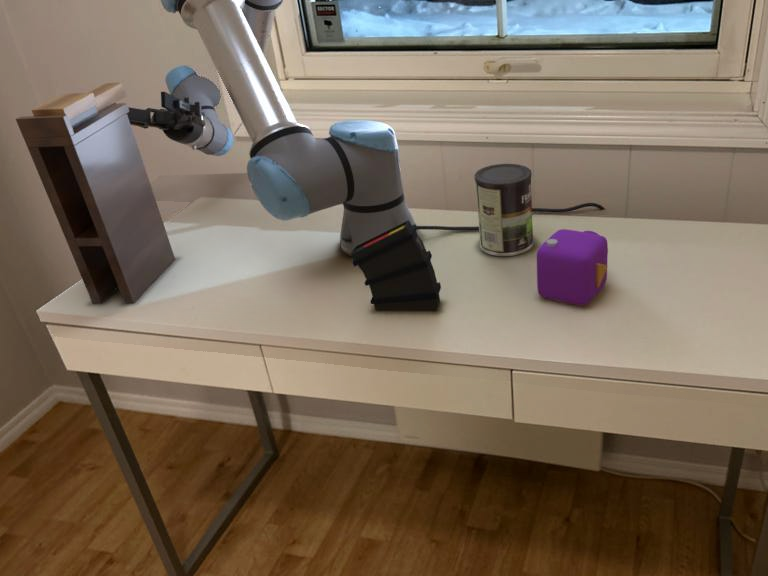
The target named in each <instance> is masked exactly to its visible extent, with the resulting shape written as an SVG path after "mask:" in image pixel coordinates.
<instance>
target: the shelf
mask: <svg viewBox="0 0 768 576" xmlns="http://www.w3.org/2000/svg"><path fill="white" fill-rule="evenodd" d="M128 107H129V106H128V103H127V102H119V103H117V102H116V104H112V105H110V106H109V107H107V108H105V109H103V110H102V111H100V112H98V113H99V115H98V116H96V117H94V118H92V119H91V120H89V121H87V122H86V123H84V124H82V125H80V126H79V127H77V128H75V129H74V130H73V129H72V126H71V123H70V121H69V118H68V115H50V116H34V115H30V116H26V115H25V116H18V117H17V118H15V121H16V124H17V126H18V129H19V131H20V134H21V137H22V138H23V140H24V143H25V145H26V148H27V150H28V152H29V154H30V157H31V160H32V162H33V164H34V167H35V169H36V171H37V174H38V176H39V179H40V181H41V184H42V186H43V188H44V191H45V193H46V195H47V198H48V200H49V202H50V205H51V208H52V210H53V213H54V214H55V217H56V219H57V222H58V224H59V227H60V229H61V232H62V235H63V237H64V238H65V239H64V240H65V241H66V244H67V246H68V247H69V250H70V253H71V256H72V258H73V260H74V262H75V265H76V267H77V269H78V272H79V275H80V277H81V280H82V281H83V284H84V286H85V287H84V288H85V289H86V291H87V294H88V296H89V299H90V301H91V303H92V304H103V303H104V302H105V301H106V300H107V298H109V297H110V296H111V295H112V294H113V293H114V292H115V291H116V290H117V289H118V290H119V293H120V295H121V298H122V301H123V303H124V304H135V302H137V301H138V299H139V298H141V297H142V295H143V294H144V293H145V292H146V291H147V290H148V289H150V288H151V286H152V285H153V284H154V283H155V282H156V281H157V280H158V278H159V277H160V276H161V275H162V274H163V273H164V272H165V271H166V270H167V269H168V268H170V266H171V265H172V264H173V263H174V262H175V260H176V257H175V253H174V250H173V247H172V245H171V243H170V242H171V241H170V239H169V236H168V233H167V230H166V227H165V224H164V221H163V218H162V215H161V211H160V209H159V206H158V202H157V200H156V197H155V194H154V191H153V188H152V185H151V182H150V179H149V175H148V173H147V170H146V167H145V164H144V160H143V158H142V155H141V151H140V149H139V146H138V143H137V140H136V137H135V134H134V129H133V128H132V125H131V124H130V121H129V118H128V115H127V113H128V112H129V109H128Z"/></svg>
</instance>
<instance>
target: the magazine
mask: <svg viewBox="0 0 768 576" xmlns="http://www.w3.org/2000/svg"><path fill="white" fill-rule="evenodd" d="M416 225H417V223H416V224H414V225H412V224H411V223H410V221H409V220H407V221H405V222H403V223H401V224H399V225H397V226H395V227H393V228H391V229H389V230H387V231H385V232H383V233H381V234H379V235H377V236H375V237H373V238H371V239H369V240H367V241H365V242H363V243H361V244H359V245H357V246H355V247H354V249H353V250H352V252H351V254H350V255H351V256H350V255H349V256H350V257H351V258H352V262H351V264H352V266H353V267H357V266H358V268H359V269H360V271H361V272H362V274H363V276H364V278H365V281H364V285H365V287H367V286H369V289H370V292H371V296H372V297H371V299H370V305H373V307H374V310H375V311H376V312H437V311H439V307H440V304H441V298H440V297H441V296H440V292H441V289H442V286H441V282H440V281H439V282H438V281H437V277H436V272H435V269H434V266H433V263H432V261H431V260H432V257H433V255H432V252H431V250H428V251H427V249H426V247H425V245H424V241H423V240H422V239H421V237H420V235H418V234H417V232H416V231H417V229H418V227H417V226H418V225H417V226H416ZM418 230H419V229H418Z"/></svg>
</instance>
